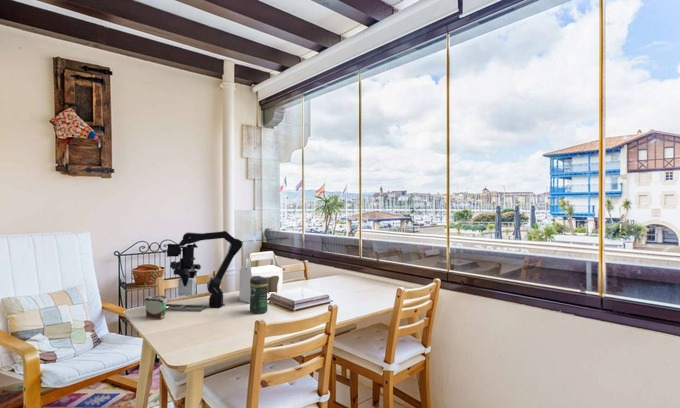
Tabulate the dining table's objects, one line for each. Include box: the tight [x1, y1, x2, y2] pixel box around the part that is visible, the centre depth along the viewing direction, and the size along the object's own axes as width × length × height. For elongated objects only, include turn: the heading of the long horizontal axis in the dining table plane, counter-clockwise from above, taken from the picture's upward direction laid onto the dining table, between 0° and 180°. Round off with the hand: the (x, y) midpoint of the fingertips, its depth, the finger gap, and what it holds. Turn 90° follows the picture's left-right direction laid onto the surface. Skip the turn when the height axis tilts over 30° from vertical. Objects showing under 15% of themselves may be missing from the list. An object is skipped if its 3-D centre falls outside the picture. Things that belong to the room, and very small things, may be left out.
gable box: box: [238, 250, 284, 304], centre depth 219 cm, size 22×13×28 cm, turn 136°
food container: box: [143, 294, 169, 321], centre depth 180 cm, size 12×6×10 cm, turn 71°
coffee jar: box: [249, 276, 268, 315], centre depth 191 cm, size 10×8×19 cm
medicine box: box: [177, 277, 197, 297], centre depth 194 cm, size 8×4×9 cm, turn 86°
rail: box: [165, 303, 208, 313], centre depth 195 cm, size 24×8×1 cm, turn 85°
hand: (187, 285), depth 194 cm, fingers closed on medicine box, 4 cm apart
